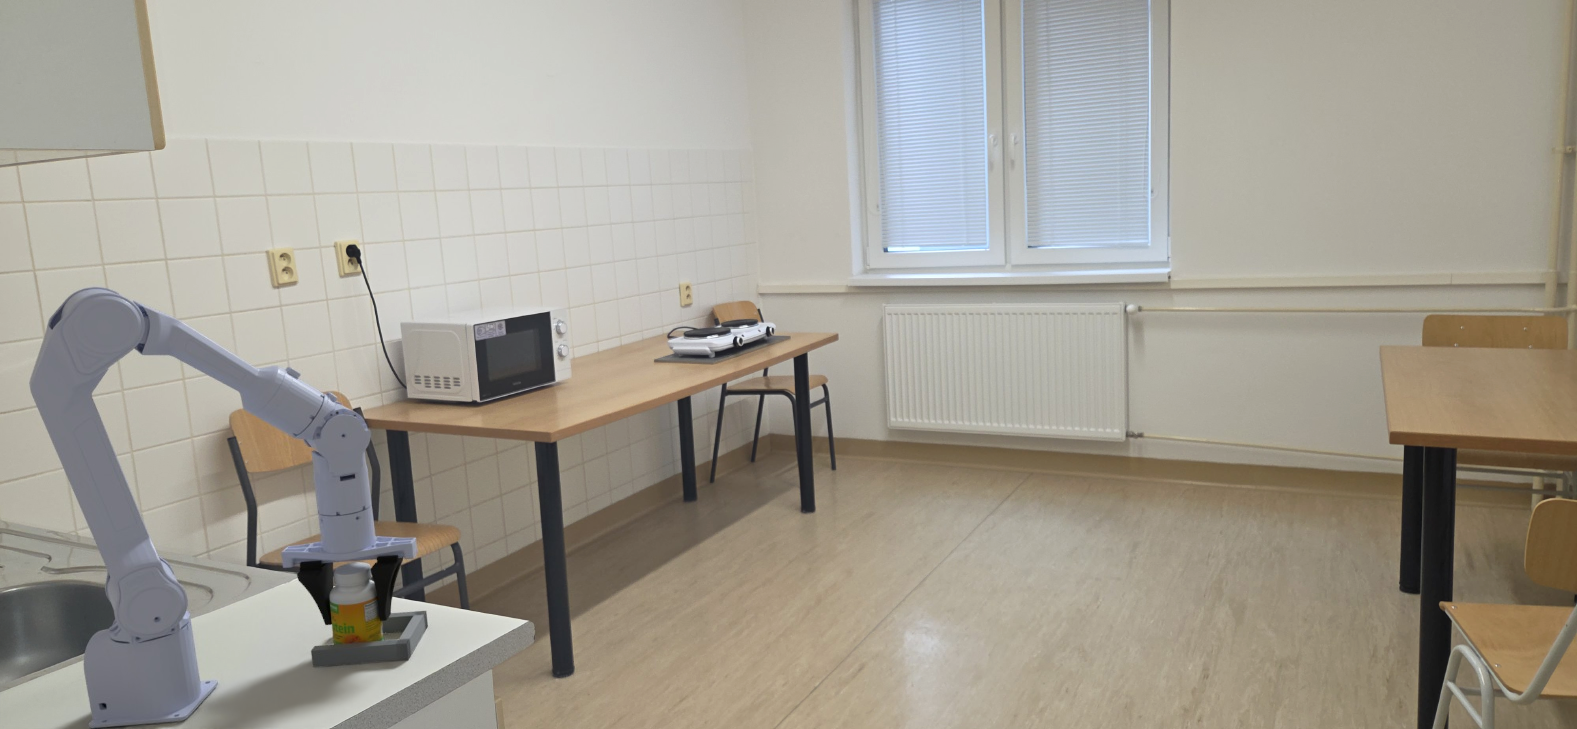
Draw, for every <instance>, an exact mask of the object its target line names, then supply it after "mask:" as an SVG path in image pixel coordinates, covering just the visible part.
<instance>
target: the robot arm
mask: <svg viewBox="0 0 1577 729" xmlns="http://www.w3.org/2000/svg"><path fill="white" fill-rule="evenodd" d="M133 350H135V351H137V352H138V354H140V355H142V356H170V357H173V358H175V359H177V360H178V361H180V362H183V363H185V364H187V366H189V367H192V368H194V369H195V370H198V371H199V372H202V373H203V374H204V375H206V376H209V377H210V378H213V379H214V380H217V381H218V382H220V383H222V384H224V385H226V386H227V387H229V388H231V389H233V390H235V391H236V392H238V393H239V394H240V398H241V404H242V407H243V410H244V411H245V412H247V413H249V414H251V415H252V416H255V417H256V418H258V419H259V420H262V421H263V422H265V423H267V424H269V425H270V426H272V427H274V428H275V429H277V430H279V431H281V432H283V433H284V434H287V435H288V436H290V437H292V438H293V439H295V440H302V441H303V442H304V444H305V446H307V447H309V448H313V449H315V450H311V452H310V453H311V460H312V466H313V467H312V468H313V473H312V477H313V484H314V490H315V499H316V500H315V501H316V508H317V516H318V523H319V524H318V525H319V532H320V539H321V541H316V542H309V543H305V544H304V543H303V544H297V545H289V546H286V547H285V548H284V549H282V551H281V552H280V555H281V562H282V563H281V564H282V568H284V569H287V568H288V569H290V568H293V567H294V566H299V570H298V572H297V573H296V577H297V580H298V582H299V583H300V584H301V585H302V586H303V587H304V588H305V589H306V591H307V592H308V593H309V595H310V596H311V598H312V599H313V601H314V603H315V604H316V607H317V608H318V610H319V612H320V614H321V617H322V619H323V622H324V624H325V625H324V626H332V621H331V610H330V600H329V594H330V591H331V590H332V589H333V588H334V563H342V562H346V563H347V562H355V561H356V562H361V561H371V560H372V561H373V560H376V562H375V563H373V565H372V566H371V574H372V575H371V578H372V581H374V584H375V588H376V593H377V600H378V614H379V618H380V621H386V620H387V619H388V617H389V616H390V614H391V613H392V612H391V610H392V603H393V602H392V600H393V594H394V589H395V585H396V581H397V578H398V575H399V571H400V569H401V566H402V563H403V561H404V560H413V559H414V558H415V557H416V555H417V554H418V553H419V552H418V542H417V537H395V536H394V537H393V536H380V535H379V536H378V535H377V536H376V530H375V529H376V528H375V522H374V513H373V512H374V511H373V506H372V505H373V504H372V502H373V501H372V496H371V487H370V486H371V485H370V478H369V477H370V476H369V470H368V466H367V459H366V449H367V448H368V446H369V444H370V441H371V438H372V437H371V436H372V431H371V430H370V429H369V428H368V425H367V423H366V422H365V419H364V417H363V416H361V415H360V414H359V413H357V412H356V411H354V410H352V409H350V408H348V407H346V406H344V405H343V404H342V402H340V401H338V396H336V395H335V394H334V393H332V392H330V391H327V392H326V393H323V391H320V390H318V389H317V388H315V387H313V386H312V385H310V384H308V383H307V382H305V381H304V380H302V379H300V377H301V375H302V374H301V372H300V371H297V370H296V369H294V368H292V367H290V366H287V367H286V368H285V369H284V368H282V367H280V366H278V365H270V366H265V367H255V366H254V365H252V364H251V363H249V362H247V361H246V360H244V359H242V358H241V357H239V356H238V355H236V354H234V353H233V352H231V351H229V350H228V349H226V348H225V347H223V346H222V345H220V344H218V343H217V342H215V341H214V340H212V339H210V338H209V337H207V336H206V335H204V334H202V333H201V332H200V331H197V330H196V329H194V328H193V327H192V326H190V325H188V324H186V323H185V322H183V321H182V320H180V319H178V318H176V317H174V316H172V315H169V314H167V313H166V312H163V311H160V310H157V309H155V308H153V307H151V306H148V305H145V304H143V303H141V302H138V301H136V300H131V299H129V298H128V297H126V296H124V295H122V294H120V293H119V292H117V291H114V290H113V289H110V288H108V287H107V288H106V287H101V286H90V287H84V288H81V289H78V290H77V291H75V292H73V293H72V294H70V295H69V296H68V297H67V298H65V300H64V301H63V302H62V303H61V305H60V306H59V307H58V308H57V309H56V310H55V311H54V313H53V314H52V315H51V316H50V317H49V319H48V322H47V325H46V330H45V334H44V336H43V340H42V343H41V346H40V348H39V352H38V354H37V358H36V361H35V364H34V367H33V369H32V373H31V376H30V379H29V388H30V389H29V390H30V393H31V396H32V398H33V400H34V403H35V405H36V407H37V410H38V412H39V414H40V417H41V419H42V421H43V424H44V426H45V429H46V430H47V434H48V435H49V438H50V440H51V442H52V445H53V447H54V449H55V452H56V454H57V456H58V458H59V461H60V464H61V466H62V468H63V470H64V473H65V475H66V477H67V480H68V482H69V485H70V486H71V489H72V491H73V493H74V496H75V498H76V500H77V503H78V505H79V507H80V509H81V512H82V516H83V517H84V519H85V521H86V524H87V526H88V528H89V530H90V533H91V535H92V537H93V540H94V542H95V545H96V547H97V550H98V551H99V553H100V556H101V559H102V561H103V563H104V565H105V568H106V578H105V583H104V592H105V595H106V598H107V600H108V601H109V603H111V606H112V609H113V614H114V618H115V619H114V620H113V623H112V625H111V626H109V628H106V629H102V630H98V631H97V632H95V633H94V634H93V635H92V636H91V637H90V639H89V641H88V642H87V645H86V647H85V651H84V656H83V672H84V678H85V684H86V690H87V697H88V701H89V707H90V713H91V721H89V722H88V727H89V729H96V728H97V729H98V728H107V727H108V728H109V727H110V728H111V727H122V726H132V725H135V726H136V725H147V724H159V723H172V722H181V721H182V722H183V721H184V720H187V719H188V718H189V716H191V714H192V713H193V712H194V711H195V710H196V709H197V708H198V707H199V706H200V705H201V704H202V702H203V701H204V700H205V699H206V698H207V697H208V696H209V695H210V694H211V693H212V692H213V690H215V688H216V687H217V686H218V685H219V681H218V680H217V679H213V680H201V677H200V672H199V670H200V669H199V664H198V658H197V652H196V644H195V638H194V632H193V625H192V619H191V613H190V611H189V610H188V606H189V602H188V601H189V599H188V594H187V591H186V590H185V588H184V587H183V585H182V584H181V583H179V581H178V579H177V577H176V576H175V573H174V570H173V568H172V566H171V565H170V563H169V562H168V561H167V560H166V559H164V558H162V557H161V556H159V554H158V552H157V549H156V547H155V545H154V543H153V541H152V539H151V536H150V534H149V531H148V529H147V526H146V523H145V522H144V519H143V517H142V515H141V512H140V509H139V507H138V505H137V503H136V500H135V498H134V495H133V492H132V491H131V488H130V485H129V482H128V480H127V478H126V476H125V473H124V471H123V469H122V465H121V463H120V461H119V459H118V456H117V455H116V452H115V450H114V447H113V444H112V442H111V440H110V436H109V434H108V433H107V432H108V431H107V430H106V428H105V425H104V423H103V420H102V417H101V416H100V413H99V411H98V409H97V408H98V407H97V405H96V402H95V400H94V399H93V392H94V391H95V389H96V388H97V387H98V385H99V383H100V382H101V381H102V379H103V377H104V376H105V375H106V374H107V372H108V371H109V368H110V367H111V366H113V365H114V364H116V363H117V362H118V361H120V360H121V359H123V358H124V357H126V356H127V355H128V354H130V353H131V352H132V351H133Z"/></svg>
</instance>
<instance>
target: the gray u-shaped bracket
mask: <svg viewBox="0 0 1577 729" xmlns="http://www.w3.org/2000/svg"><path fill="white" fill-rule="evenodd" d="M427 615H428V613H427V610H416V611H405V612H391V614H390V616H389V617H388V619H387V620H386V621H382V627H383V634H394V633H395V634H396V633H402V634H401V635H400V637H399V638H398V639H390V640H383V641H374V642H361V643H348V644H335V645H334V644H325V645H314V646H313V648H312V649H311V650H310V655H311V661H312V662H311V663H312V667H313V668H321V667H332V666H334V667H335V666H347V665H360V664H371V663H385V662H398V661H399V662H400V661H409V660H410V659H411V656H412V654H413V653H414V651H415V649H416V648H417V646H418V644H419V643H420V640H421V639H422V637H423V635H424V634H425V632H426V630H427V628H428V627H429V625H428V623H429V622H428V616H427Z"/></svg>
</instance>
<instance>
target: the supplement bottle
mask: <svg viewBox="0 0 1577 729" xmlns="http://www.w3.org/2000/svg"><path fill="white" fill-rule="evenodd" d="M371 568H372V566H371V565H370V564H369V563H367V562H364V561H363V562H362V561H356V562H355V561H354V562H350V563H345V564H341V565H339V566H337V567H336V568H335V569H333V582H334V584H335V586H333V589H332V590H331V591H330V594H329V600H330V610H331V621H332V624H331V629H332V637H333V638H332V639H333V640H332V641H333V645H335V644H348V643H361V642H374V641H384V633H383V627H382V621H380V618H379V614H378V600H377V593H376V588H375V584H374V580H373V579H372V574H371Z"/></svg>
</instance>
